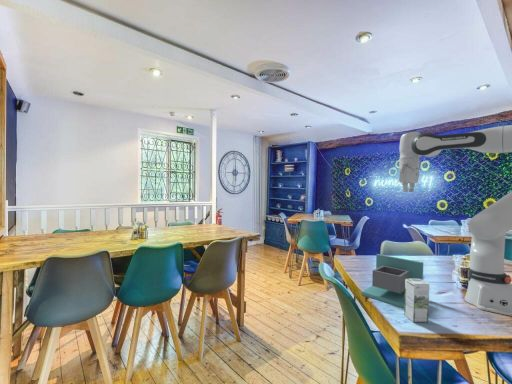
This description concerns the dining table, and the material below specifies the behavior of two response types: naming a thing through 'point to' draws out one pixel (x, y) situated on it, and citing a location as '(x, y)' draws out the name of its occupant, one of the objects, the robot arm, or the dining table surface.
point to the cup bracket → (392, 279)
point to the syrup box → (416, 300)
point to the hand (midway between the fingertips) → (408, 192)
